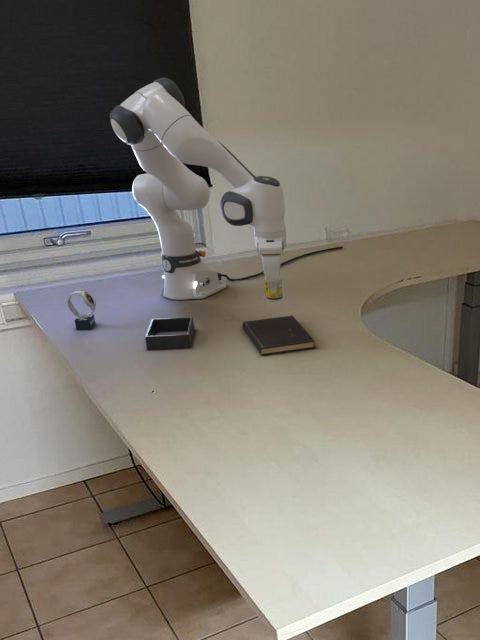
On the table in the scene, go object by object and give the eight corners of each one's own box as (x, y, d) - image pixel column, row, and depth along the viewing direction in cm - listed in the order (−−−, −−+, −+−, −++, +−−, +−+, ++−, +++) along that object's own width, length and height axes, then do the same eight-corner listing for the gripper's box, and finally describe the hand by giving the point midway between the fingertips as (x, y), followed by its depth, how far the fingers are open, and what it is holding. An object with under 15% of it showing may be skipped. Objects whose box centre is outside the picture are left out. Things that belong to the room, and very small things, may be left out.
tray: (153, 331, 227) (151, 318, 225) (194, 329, 228) (192, 317, 226) (147, 350, 214) (145, 336, 212) (190, 348, 215) (188, 334, 213)
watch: (97, 329, 228) (90, 294, 223) (70, 330, 228) (63, 294, 222) (101, 323, 233) (95, 288, 227) (75, 323, 233) (68, 289, 227)
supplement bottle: (266, 296, 216) (264, 267, 212) (282, 296, 217) (281, 267, 212) (265, 302, 212) (263, 272, 208) (282, 301, 213) (280, 272, 208)
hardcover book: (293, 322, 232) (292, 315, 231) (315, 348, 214) (314, 340, 213) (242, 329, 228) (241, 321, 227) (260, 356, 209) (260, 348, 208)
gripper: (259, 231, 214) (262, 279, 222) (258, 249, 197) (262, 301, 204) (281, 230, 215) (284, 278, 222) (282, 249, 198) (285, 300, 205)
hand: (273, 289), depth 213 cm, fingers closed on supplement bottle, 5 cm apart
